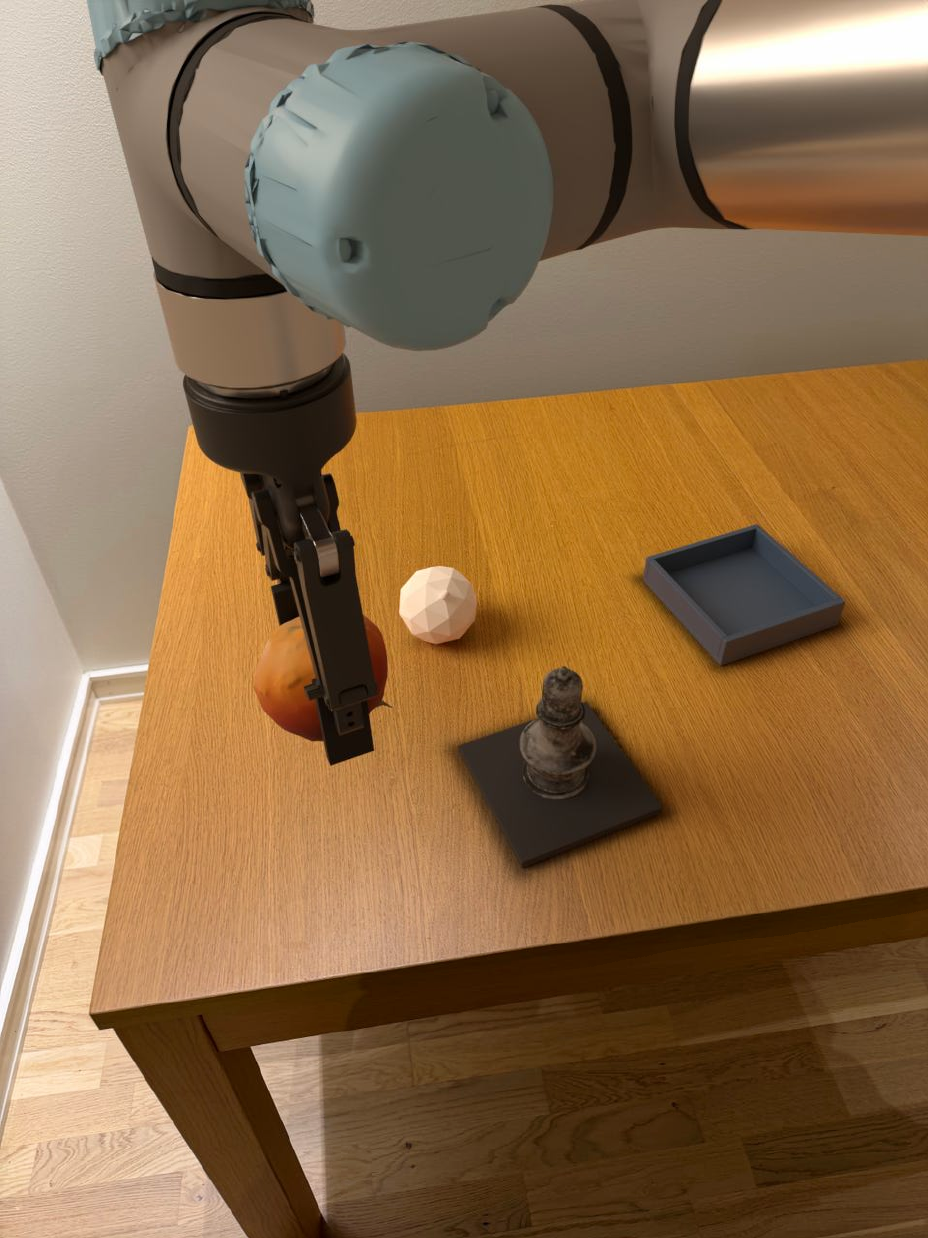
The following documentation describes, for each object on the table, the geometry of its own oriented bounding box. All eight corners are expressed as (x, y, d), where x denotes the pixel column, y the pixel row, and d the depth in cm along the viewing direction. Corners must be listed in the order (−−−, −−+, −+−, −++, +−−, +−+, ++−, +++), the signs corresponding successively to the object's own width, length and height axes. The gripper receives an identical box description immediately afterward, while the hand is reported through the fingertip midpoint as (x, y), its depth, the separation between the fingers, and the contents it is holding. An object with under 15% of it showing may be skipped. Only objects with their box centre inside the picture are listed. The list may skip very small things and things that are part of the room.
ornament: (484, 607, 86) (501, 588, 78) (436, 665, 84) (449, 651, 77) (428, 561, 86) (440, 537, 78) (379, 618, 84) (387, 599, 76)
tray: (837, 625, 84) (846, 601, 82) (720, 666, 80) (726, 642, 78) (751, 546, 93) (757, 523, 91) (642, 580, 89) (646, 557, 87)
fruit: (369, 774, 49) (292, 663, 46) (284, 774, 55) (209, 673, 52) (443, 682, 55) (377, 576, 52) (358, 689, 60) (294, 594, 57)
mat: (661, 813, 68) (663, 807, 68) (521, 869, 65) (522, 863, 65) (586, 707, 77) (586, 701, 76) (458, 751, 73) (457, 745, 73)
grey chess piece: (513, 747, 72) (516, 641, 64) (584, 740, 73) (596, 634, 65) (524, 806, 68) (529, 701, 60) (600, 799, 69) (615, 693, 60)
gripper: (429, 451, 34) (449, 809, 49) (285, 268, 48) (335, 590, 63) (234, 499, 32) (318, 858, 47) (144, 293, 46) (231, 620, 61)
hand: (328, 704), depth 55 cm, fingers closed on fruit, 8 cm apart
